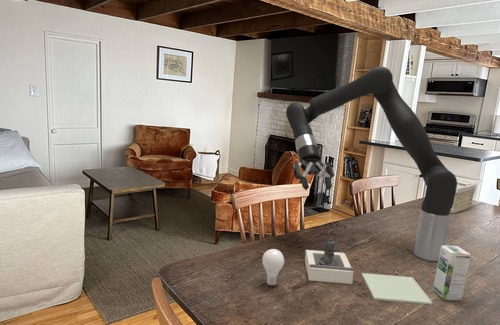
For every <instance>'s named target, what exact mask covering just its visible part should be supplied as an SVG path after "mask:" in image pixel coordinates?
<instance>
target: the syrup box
mask: <svg viewBox="0 0 500 325" xmlns="http://www.w3.org/2000/svg"><path fill="white" fill-rule="evenodd" d="M471 258H472V254H471V253H469V252H467V251H465V250H464V249H462V248H461V247H460V246H457V245H448V244H447V245H445V246H441V250H440V255H439V260H438V261H437V265H436V266H437V267H436V271H435V278H434V283H433V286H432V290H433V292H435V293H436V294H437V295H438V296H439V297H440V298H441V299H442V300H443V301H462V300H463V298H464V297H463V295H464V291H465V287H466V282H467V277H468V274H469V273H468V272H469V268H470V262H471Z"/></svg>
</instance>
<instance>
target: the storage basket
mask: <svg viewBox="0 0 500 325" xmlns="http://www.w3.org/2000/svg"><path fill="white" fill-rule="evenodd" d="M457 186H459V187H457V188H456V194H455V198H454V203H453V206H452V208H451V210H450V214H452V213H453V214H457V213H459V212H462V211H465V210H468V209H471V208H472V207H471V206H472V204H473V199H474V196H475V192H476V189H477V183H475V182H472V181H471V182H470V181H465V180H461V179H457Z"/></svg>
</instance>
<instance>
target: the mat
mask: <svg viewBox="0 0 500 325" xmlns="http://www.w3.org/2000/svg"><path fill="white" fill-rule="evenodd" d="M361 277H362V279H363V281H364V283H365V285H366V286H367V288H368V291H369V292H370V294H371V296H372V298H373V300H374V301H386V302H396V303H408V304H418V305H431V306H432V305H433V302H432V300H431V298H430V297H429V296H428V295H427V293H425V291H424V290H423V289H422V288H421V286H420V285H419V284H418V283H417V281H416V280H415V278H414V277H412V276H411V277H410V276H403V275H402V276H398V275H388V274H377V273H367V272H366V273H365V272H361Z"/></svg>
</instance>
